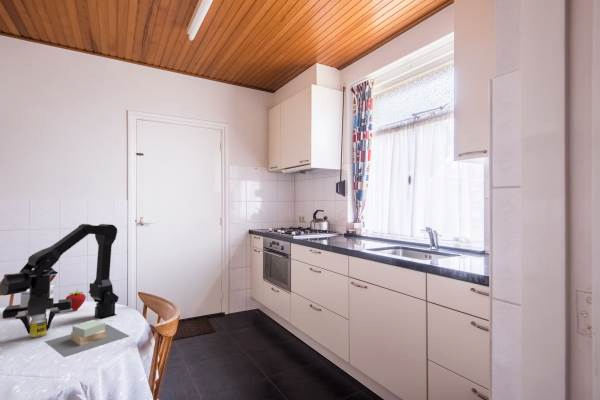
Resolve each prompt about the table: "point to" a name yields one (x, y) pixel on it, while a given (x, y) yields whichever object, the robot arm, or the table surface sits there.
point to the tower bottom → (88, 338)
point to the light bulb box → (26, 296)
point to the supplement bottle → (38, 326)
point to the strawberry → (76, 299)
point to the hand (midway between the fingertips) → (38, 331)
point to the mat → (70, 347)
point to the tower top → (88, 328)
